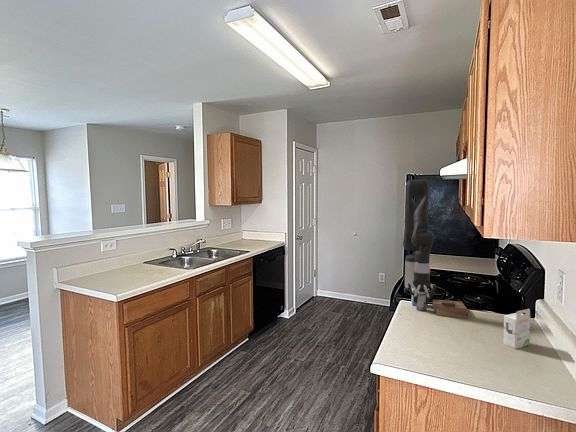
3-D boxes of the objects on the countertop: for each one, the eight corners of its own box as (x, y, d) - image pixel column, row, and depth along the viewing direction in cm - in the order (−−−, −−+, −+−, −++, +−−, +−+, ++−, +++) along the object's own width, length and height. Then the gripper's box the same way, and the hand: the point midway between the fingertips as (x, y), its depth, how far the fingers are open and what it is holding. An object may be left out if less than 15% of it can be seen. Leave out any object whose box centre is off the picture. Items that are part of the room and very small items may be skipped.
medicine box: (412, 305, 172) (412, 289, 171) (411, 303, 176) (411, 287, 176) (427, 307, 170) (428, 290, 169) (426, 304, 174) (427, 288, 173)
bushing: (414, 307, 169) (414, 288, 169) (426, 308, 168) (426, 289, 167) (415, 311, 164) (416, 291, 163) (428, 312, 162) (428, 292, 161)
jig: (432, 305, 171) (432, 299, 171) (461, 308, 167) (461, 301, 167) (437, 315, 158) (437, 308, 157) (468, 318, 154) (468, 310, 154)
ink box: (517, 340, 131) (518, 304, 130) (530, 345, 126) (531, 308, 125) (502, 343, 127) (503, 307, 126) (515, 349, 123) (516, 311, 122)
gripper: (435, 270, 166) (434, 302, 167) (406, 268, 170) (405, 300, 171) (438, 273, 159) (437, 307, 160) (407, 272, 163) (407, 304, 164)
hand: (421, 303), depth 165 cm, fingers closed on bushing, 4 cm apart
